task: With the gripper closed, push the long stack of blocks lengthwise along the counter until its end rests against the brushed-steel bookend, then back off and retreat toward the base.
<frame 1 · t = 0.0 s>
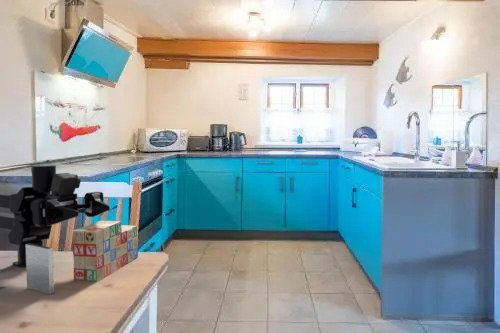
hand: (94, 210, 101), 17 cm above the table, tool horizontal, fingers open, 9 cm apart
stack of blocks: (108, 269, 112), on the table
bookend: (40, 290, 95), on the table
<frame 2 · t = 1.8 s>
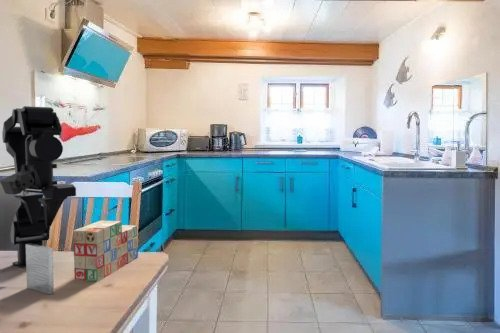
hand: (41, 225, 102), 13 cm above the table, tool pointing down, fingers open, 5 cm apart
nothing on the table moved.
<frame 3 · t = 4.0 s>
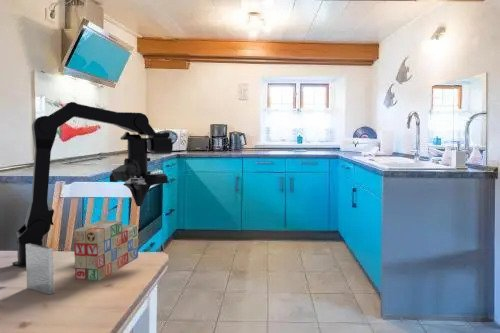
hand: (138, 206, 130), 13 cm above the table, tool pointing down, fingers closed
nothing on the table moved.
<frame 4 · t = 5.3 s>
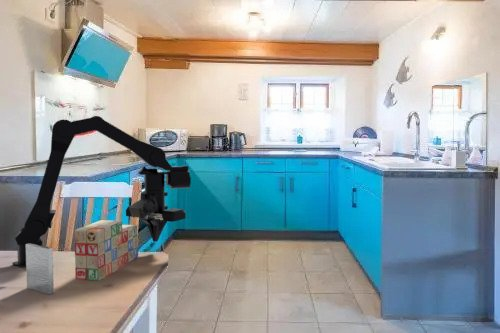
hand: (155, 241, 127), 3 cm above the table, tool pointing down, fingers closed
nothing on the table moved.
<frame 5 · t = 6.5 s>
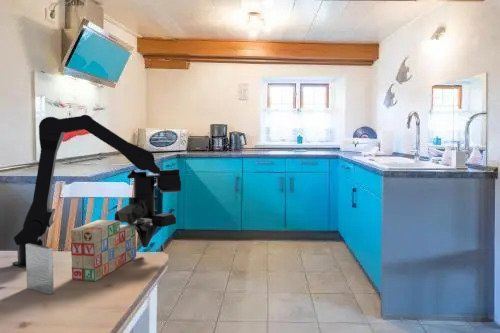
hand: (145, 247, 123), 2 cm above the table, tool pointing down, fingers closed
stack of blocks: (107, 268, 112), on the table, touching gripper
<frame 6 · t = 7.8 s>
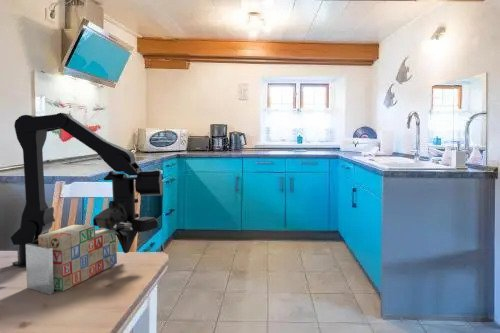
hand: (126, 252, 117), 3 cm above the table, tool pointing down, fingers closed
stack of blocks: (82, 276, 105), on the table, touching bookend, gripper
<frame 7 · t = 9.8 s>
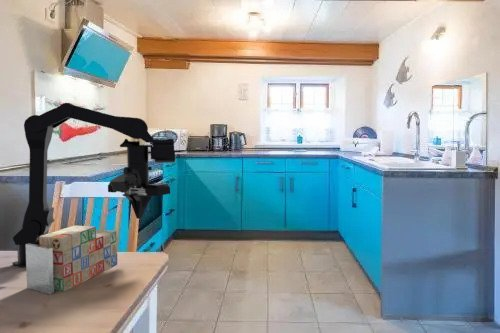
hand: (139, 218, 120), 11 cm above the table, tool pointing down, fingers closed
stack of blocks: (82, 276, 105), on the table
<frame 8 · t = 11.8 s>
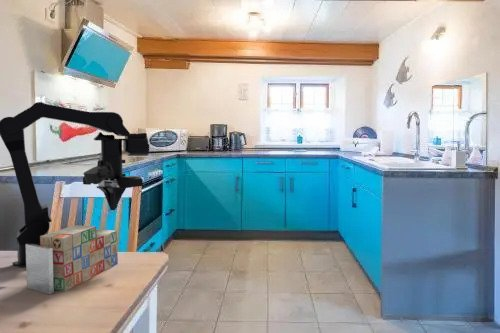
hand: (112, 210, 124), 13 cm above the table, tool pointing down, fingers closed
nothing on the table moved.
at the end: stack of blocks 1.0 cm from the target spot on the table beside the bookend, on the table; stack of blocks tilted 0°; stack of blocks moved 7.5 cm from its start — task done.
